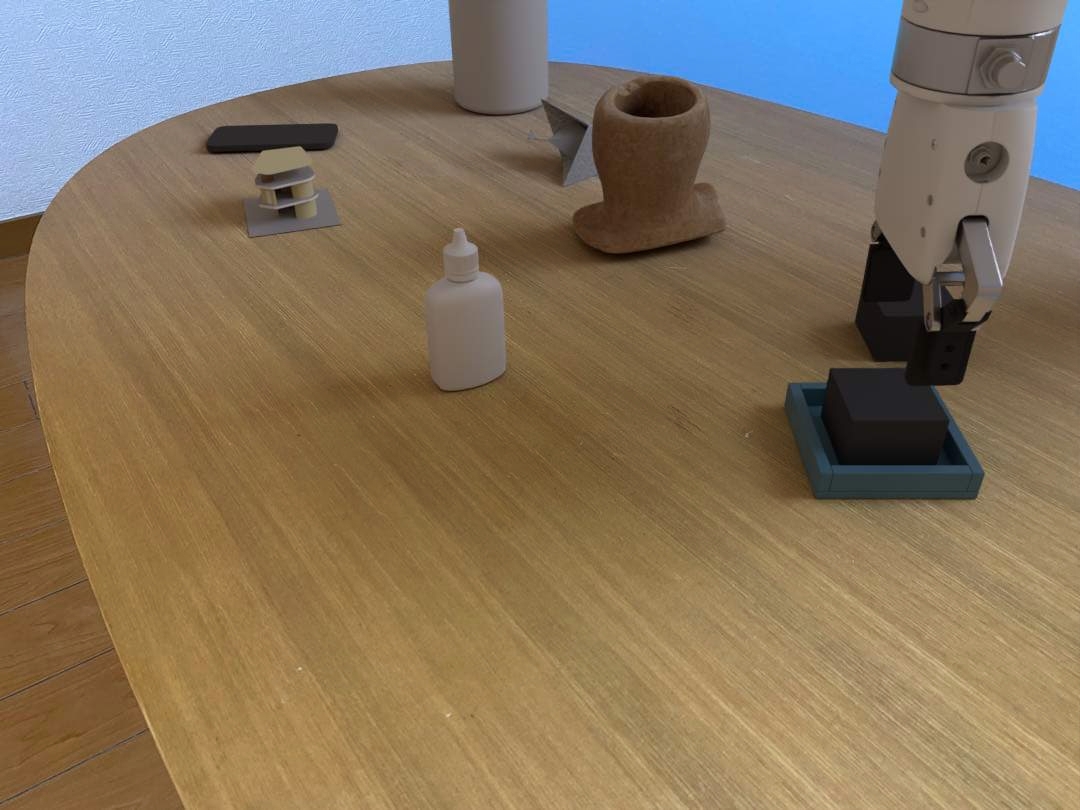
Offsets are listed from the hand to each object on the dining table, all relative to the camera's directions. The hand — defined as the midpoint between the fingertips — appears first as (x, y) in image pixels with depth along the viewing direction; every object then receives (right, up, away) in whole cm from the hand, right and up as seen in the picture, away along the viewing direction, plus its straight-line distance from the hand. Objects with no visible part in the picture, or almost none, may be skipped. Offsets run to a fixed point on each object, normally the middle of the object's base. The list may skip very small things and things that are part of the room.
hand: (907, 338), depth 58 cm
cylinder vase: (-28, +36, +68) cm, 82 cm away
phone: (-55, +28, +56) cm, 83 cm away
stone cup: (-12, +12, +32) cm, 36 cm away
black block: (+6, +1, +16) cm, 17 cm away
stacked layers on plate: (-49, +16, +39) cm, 64 cm away
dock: (0, -7, +5) cm, 9 cm away
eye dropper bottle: (-28, -2, +13) cm, 31 cm away
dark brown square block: (0, -7, +4) cm, 8 cm away
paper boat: (-20, +23, +48) cm, 57 cm away
